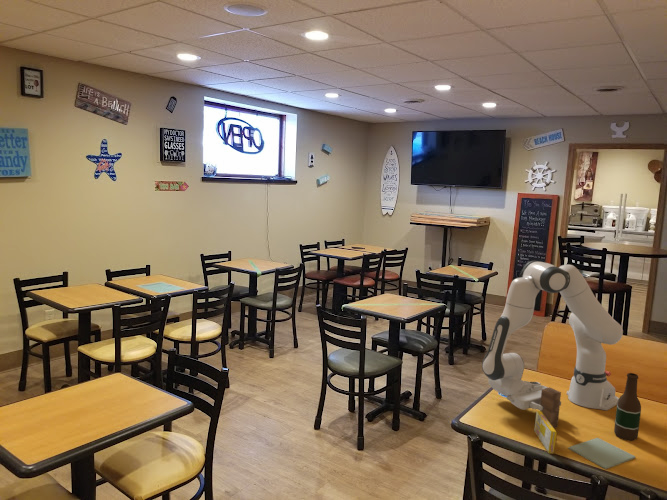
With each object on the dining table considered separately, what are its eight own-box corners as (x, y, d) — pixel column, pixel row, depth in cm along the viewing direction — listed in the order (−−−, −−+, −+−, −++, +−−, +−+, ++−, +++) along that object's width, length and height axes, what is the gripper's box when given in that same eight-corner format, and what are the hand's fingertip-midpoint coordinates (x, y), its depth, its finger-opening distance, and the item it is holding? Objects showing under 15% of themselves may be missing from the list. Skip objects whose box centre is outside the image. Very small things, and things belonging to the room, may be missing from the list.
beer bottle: (609, 431, 192) (616, 370, 188) (628, 430, 192) (635, 370, 189) (622, 441, 184) (629, 378, 181) (642, 441, 185) (650, 378, 181)
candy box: (554, 454, 174) (557, 431, 173) (548, 454, 174) (550, 431, 173) (539, 431, 190) (541, 410, 189) (533, 431, 190) (535, 410, 189)
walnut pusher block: (546, 421, 198) (549, 387, 196) (557, 427, 193) (561, 392, 191) (538, 423, 196) (541, 389, 194) (549, 429, 191) (552, 394, 189)
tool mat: (597, 439, 185) (597, 437, 185) (635, 458, 173) (635, 456, 173) (568, 448, 178) (568, 447, 178) (605, 469, 165) (605, 467, 165)
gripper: (504, 389, 199) (533, 403, 187) (540, 381, 209) (569, 393, 197) (503, 404, 200) (531, 419, 188) (539, 395, 210) (568, 409, 198)
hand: (551, 406), depth 193 cm, fingers open, 8 cm apart
